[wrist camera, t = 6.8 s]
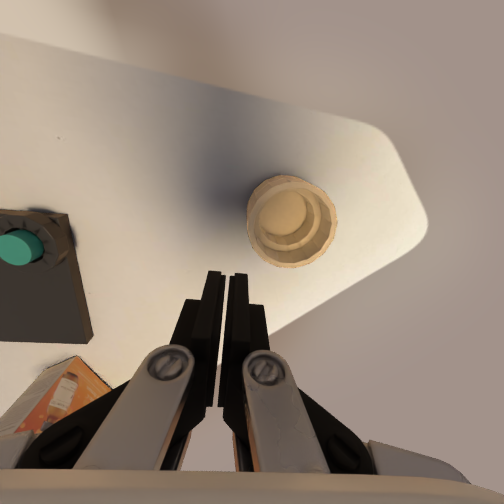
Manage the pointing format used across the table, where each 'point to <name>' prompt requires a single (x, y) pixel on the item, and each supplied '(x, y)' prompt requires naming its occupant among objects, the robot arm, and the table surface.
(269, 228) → the little bowl
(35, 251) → the button
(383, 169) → the table surface
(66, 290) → the scale
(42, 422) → the small box
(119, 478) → the robot arm
